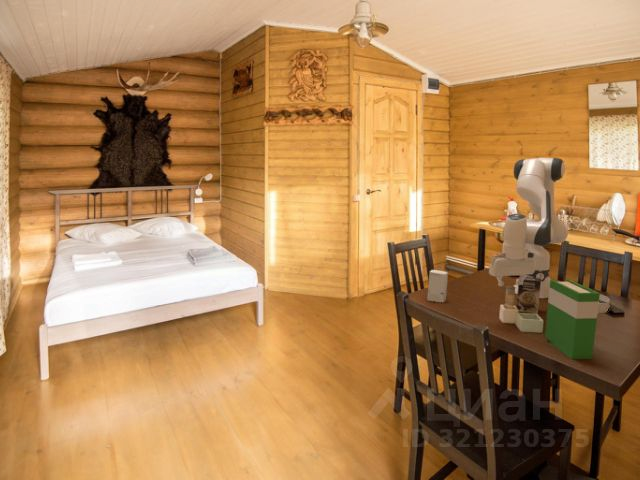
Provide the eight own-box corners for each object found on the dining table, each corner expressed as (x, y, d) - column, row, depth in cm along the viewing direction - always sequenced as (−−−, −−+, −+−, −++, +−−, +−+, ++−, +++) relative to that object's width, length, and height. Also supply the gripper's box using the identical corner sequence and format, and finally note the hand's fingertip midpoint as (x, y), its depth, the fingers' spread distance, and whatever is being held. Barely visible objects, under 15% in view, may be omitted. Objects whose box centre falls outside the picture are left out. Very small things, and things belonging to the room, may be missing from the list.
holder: (515, 326, 186) (516, 312, 185) (535, 327, 185) (536, 313, 184) (520, 333, 178) (522, 319, 177) (542, 334, 177) (543, 320, 176)
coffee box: (515, 313, 202) (518, 278, 199) (516, 308, 208) (519, 275, 205) (537, 316, 198) (540, 281, 195) (538, 311, 204) (541, 277, 201)
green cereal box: (544, 339, 173) (550, 279, 169) (563, 338, 174) (569, 279, 169) (571, 359, 156) (578, 293, 152) (592, 358, 156) (599, 293, 152)
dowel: (502, 318, 192) (505, 285, 189) (511, 319, 192) (514, 285, 189) (504, 321, 189) (507, 287, 186) (513, 322, 188) (516, 288, 185)
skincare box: (426, 300, 220) (428, 271, 217) (429, 297, 225) (431, 269, 222) (444, 303, 216) (445, 273, 213) (446, 299, 221) (448, 271, 219)
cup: (499, 319, 194) (500, 304, 192) (513, 320, 193) (514, 305, 191) (502, 324, 188) (503, 309, 187) (517, 325, 187) (518, 309, 186)
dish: (594, 299, 222) (595, 290, 221) (619, 314, 201) (620, 304, 200) (548, 298, 224) (549, 288, 223) (568, 313, 203) (569, 302, 202)
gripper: (496, 255, 179) (494, 288, 181) (539, 253, 184) (535, 285, 187) (487, 252, 185) (484, 284, 187) (528, 250, 190) (525, 281, 193)
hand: (510, 285), depth 187 cm, fingers open, 8 cm apart
